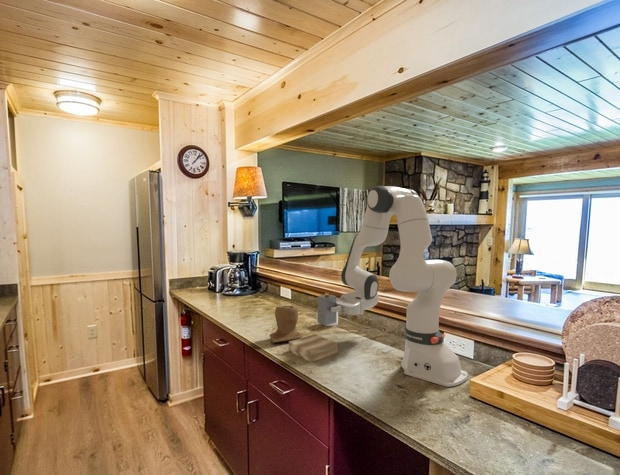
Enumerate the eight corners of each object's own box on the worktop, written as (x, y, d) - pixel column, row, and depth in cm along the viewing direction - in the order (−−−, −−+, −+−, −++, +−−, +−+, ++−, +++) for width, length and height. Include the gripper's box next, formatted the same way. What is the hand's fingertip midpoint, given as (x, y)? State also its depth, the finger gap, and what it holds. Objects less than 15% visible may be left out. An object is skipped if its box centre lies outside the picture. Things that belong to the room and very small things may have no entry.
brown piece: (293, 332, 165) (293, 301, 164) (305, 340, 155) (305, 306, 154) (263, 337, 158) (263, 305, 157) (274, 346, 147) (273, 311, 147)
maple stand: (337, 353, 140) (337, 343, 140) (310, 362, 131) (310, 351, 131) (315, 343, 151) (315, 334, 150) (288, 351, 142) (288, 341, 142)
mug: (320, 328, 171) (320, 307, 171) (312, 323, 179) (312, 304, 178) (341, 325, 177) (341, 305, 176) (332, 320, 184) (332, 301, 183)
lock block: (336, 322, 145) (336, 293, 144) (325, 325, 141) (325, 295, 141) (328, 319, 149) (328, 291, 148) (317, 322, 145) (317, 293, 144)
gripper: (333, 292, 161) (309, 296, 152) (366, 300, 145) (342, 305, 136) (333, 305, 161) (309, 310, 152) (366, 315, 145) (342, 321, 136)
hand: (325, 308), depth 144 cm, fingers closed on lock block, 5 cm apart
